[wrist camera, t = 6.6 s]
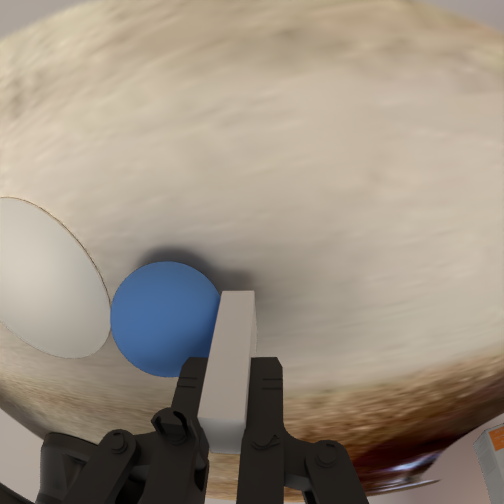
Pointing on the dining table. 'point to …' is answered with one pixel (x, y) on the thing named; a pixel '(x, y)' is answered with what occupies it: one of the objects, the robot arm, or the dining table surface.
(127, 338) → the ball
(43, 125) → the dining table surface
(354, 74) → the dining table surface
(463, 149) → the dining table surface
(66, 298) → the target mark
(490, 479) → the skincare box
